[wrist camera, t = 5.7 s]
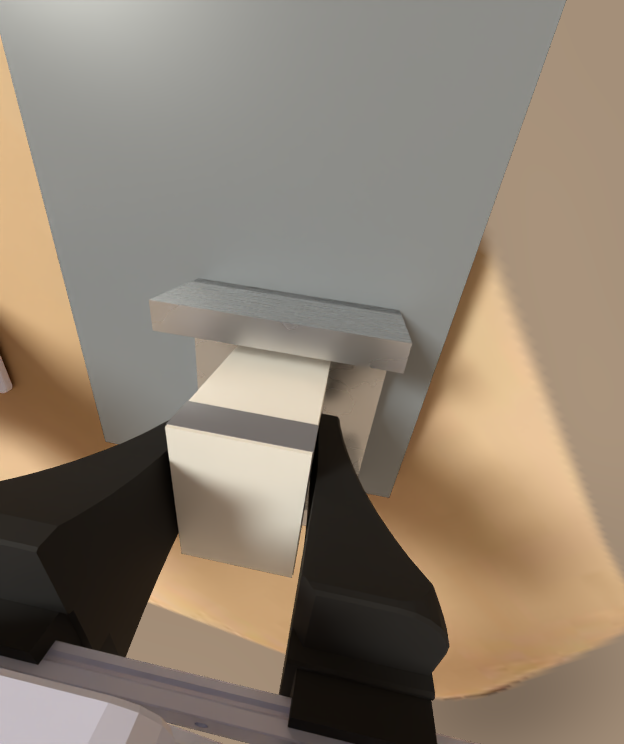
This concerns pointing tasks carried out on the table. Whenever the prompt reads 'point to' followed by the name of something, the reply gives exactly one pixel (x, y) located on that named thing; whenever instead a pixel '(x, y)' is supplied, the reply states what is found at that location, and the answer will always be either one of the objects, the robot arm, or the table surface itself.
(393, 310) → the end holder
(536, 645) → the table surface
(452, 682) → the table surface
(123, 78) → the board
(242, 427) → the block
